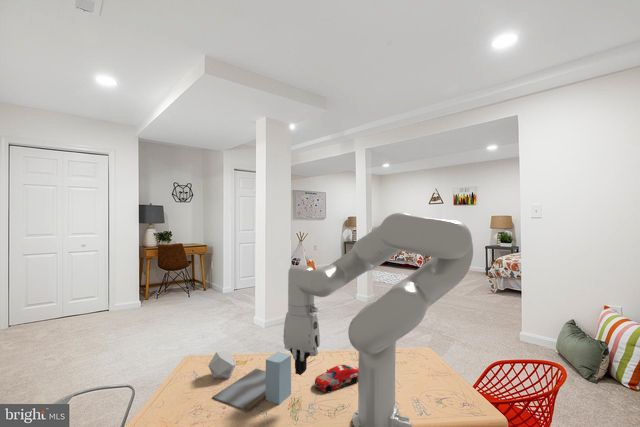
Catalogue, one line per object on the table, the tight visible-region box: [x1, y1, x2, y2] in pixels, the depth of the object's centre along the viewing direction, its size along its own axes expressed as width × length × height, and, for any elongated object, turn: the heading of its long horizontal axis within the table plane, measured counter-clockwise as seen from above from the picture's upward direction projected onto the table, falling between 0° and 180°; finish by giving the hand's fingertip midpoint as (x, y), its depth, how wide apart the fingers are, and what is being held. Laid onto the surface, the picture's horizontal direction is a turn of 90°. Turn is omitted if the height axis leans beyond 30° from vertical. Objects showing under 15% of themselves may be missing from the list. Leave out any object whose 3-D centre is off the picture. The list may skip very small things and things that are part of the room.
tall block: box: [265, 351, 292, 406], centre depth 97 cm, size 5×6×12 cm
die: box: [207, 351, 237, 379], centre depth 109 cm, size 8×9×10 cm
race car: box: [314, 364, 358, 393], centre depth 105 cm, size 16×7×5 cm, turn 119°
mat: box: [212, 368, 266, 413], centre depth 101 cm, size 14×20×1 cm
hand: (300, 372), depth 93 cm, fingers closed
